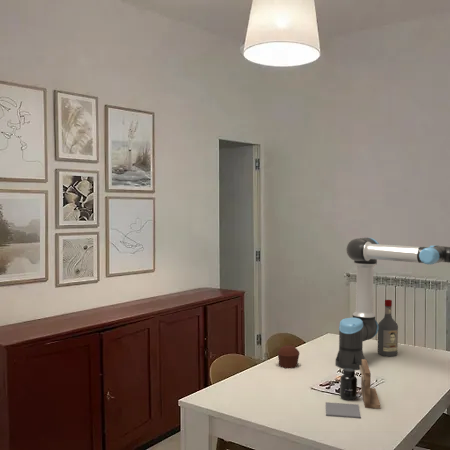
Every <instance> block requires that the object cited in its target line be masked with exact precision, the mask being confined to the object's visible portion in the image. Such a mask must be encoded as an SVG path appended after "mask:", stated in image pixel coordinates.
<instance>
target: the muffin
mask: <svg viewBox="0 0 450 450" xmlns="http://www.w3.org/2000/svg"><path fill="white" fill-rule="evenodd" d="M276 354H277V358H278V364H279V366H280V367H281V368H282V369H283V368H284V369H295V368H297V367H298V363H299V357H300V351H299V350H298V349H297V348H296V347H295V346H293V345H283V346H281V347H280V348H279V349H278V350H277V352H276Z"/></svg>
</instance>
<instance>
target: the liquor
mask: <svg viewBox="0 0 450 450" xmlns="http://www.w3.org/2000/svg"><path fill="white" fill-rule="evenodd" d="M392 307H393V300H392V299H384V316H383V318H382V319H381V320H380V321H379V322H378V332H377V354H378V355H380V356H382V357H388V358H390V357H397V355H398V351H399V349H398V346H399V343H398V342H399V341H398V339H399V325H398V323H397V322H396V321H395V319H394V317H393V316H392Z"/></svg>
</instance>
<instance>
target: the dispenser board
mask: <svg viewBox="0 0 450 450" xmlns="http://www.w3.org/2000/svg"><path fill="white" fill-rule="evenodd" d="M359 367H360V369H359V371H360V374H361V377H360V378H361V380H360V381H361V382H360V391H361V397H362V400H363V405H364V408H366V409H367V408H369V409H381V402H380V400H379V395H378V393H377V390H376V388H374V387H371V370H370V367H369V364H368V360H367V359H366V358H365V359H362V366H361V365H360V366H359Z"/></svg>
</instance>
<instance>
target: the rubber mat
mask: <svg viewBox="0 0 450 450" xmlns="http://www.w3.org/2000/svg"><path fill="white" fill-rule="evenodd" d="M325 416H326V417H338V418H339V417H340V418H351V419H361V418H362V415H361V411H360V406H359V404H356V403H343V402H330V401H329V402H327V401H326V402H325Z"/></svg>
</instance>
